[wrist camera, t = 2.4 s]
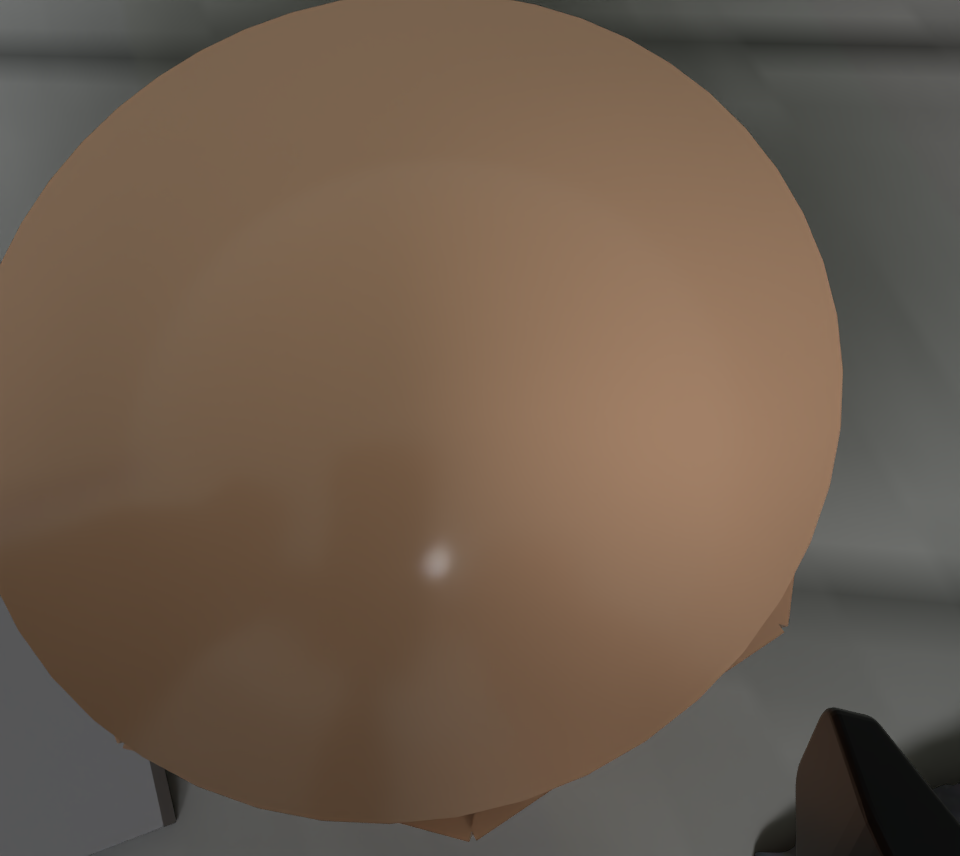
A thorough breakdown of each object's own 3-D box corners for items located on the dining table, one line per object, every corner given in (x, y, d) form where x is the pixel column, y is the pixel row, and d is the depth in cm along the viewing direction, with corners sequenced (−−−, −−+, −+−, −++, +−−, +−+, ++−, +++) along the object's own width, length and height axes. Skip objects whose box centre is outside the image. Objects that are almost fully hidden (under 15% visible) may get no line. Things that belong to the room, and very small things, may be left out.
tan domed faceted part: (619, 768, 17) (782, 951, 5) (281, 683, 18) (-184, 687, 6) (677, 431, 19) (882, 45, 7) (370, 371, 20) (135, -49, 8)
